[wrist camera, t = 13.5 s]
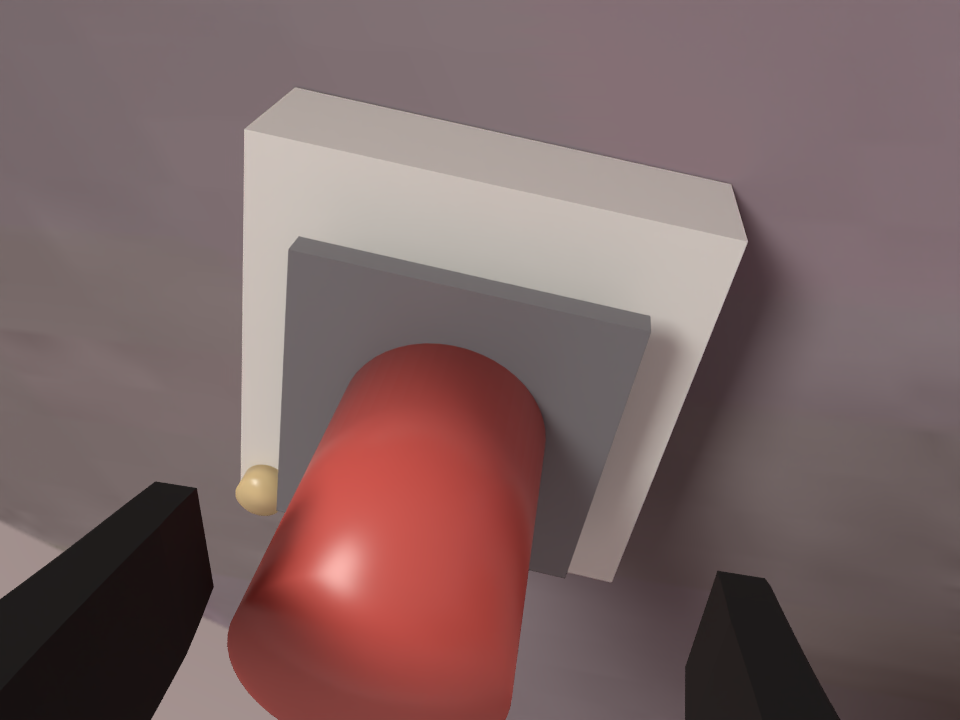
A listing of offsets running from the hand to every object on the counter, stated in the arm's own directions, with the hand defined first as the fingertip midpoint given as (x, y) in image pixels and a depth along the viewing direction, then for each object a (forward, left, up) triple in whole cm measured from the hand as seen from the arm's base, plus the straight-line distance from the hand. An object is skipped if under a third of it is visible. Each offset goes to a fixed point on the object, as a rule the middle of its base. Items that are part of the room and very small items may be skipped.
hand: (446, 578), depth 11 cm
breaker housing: (+1, +2, -10) cm, 11 cm away
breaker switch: (+1, +2, -9) cm, 10 cm away
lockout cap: (+1, +2, -6) cm, 6 cm away
